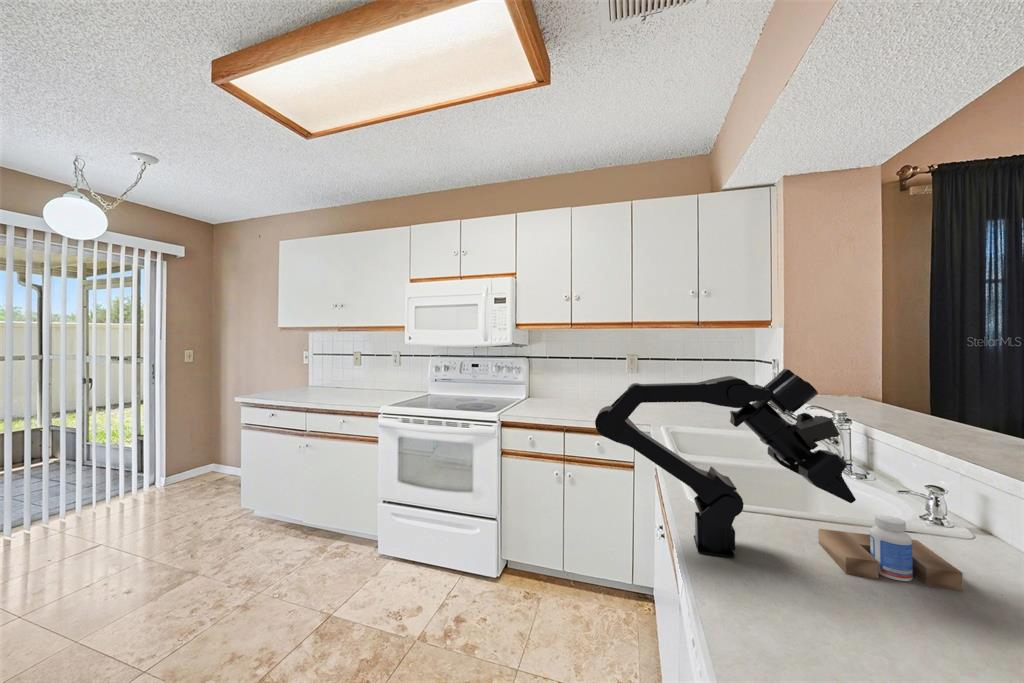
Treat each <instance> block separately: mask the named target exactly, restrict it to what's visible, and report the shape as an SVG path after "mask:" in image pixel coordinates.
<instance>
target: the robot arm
mask: <svg viewBox="0 0 1024 683" xmlns="http://www.w3.org/2000/svg"><path fill="white" fill-rule="evenodd" d="M817 395H819V392H818V391H817V389H816V388H815V387H814V386H813V385H812V384H811V383H810V382H808V381H807V380H804V379H803V378H802V377H800V376H799V375H797V374H796V373H794V372H792V370H790V369H788V368H783V369H782V370H781V371H780V372H778V374H777V375H776V376H775V377H773V379H771V380H770V381H769V382H768V383H766V384H765V385H764V386H762V385H759V384H757V383H756V384H750V383H749V382H747V381H746V380H744V379H741V378H738V377H736V376H732V375H725V376H720V377H716V378H710V379H706V380H703V381H698V382H678V383H677V382H672V383H669V382H668V383H639V382H634V383H631V384H629V386H628V387H627V389H626V390H625V391H624V392H623V393H622V394H620V396H619V397H618V398H617V399H615V401H614V402H613V403H612V404H611V405H607V406H604V407H602V408H601V409H600V410H599V411H598V413H597V416H596V418H595V419H594V422H595V423H594V425H595V429H596V432H598V434H599V435H600V436H602V437H604V438H606V439H609V440H611V441H612V442H615V443H618V444H621V445H624V446H627V447H629V448H632V449H633V450H635V451H636V452H637V453H639V454H641V455H642V456H644V457H645V458H646V459H648V460H649V461H651V462H652V463H654V464H655V465H657V466H658V467H660V468H661V469H663V470H664V471H666V472H667V473H668V474H670V475H671V476H673V477H675V478H676V479H677V480H679V481H680V482H681V483H683V484H685V486H688V487H689V488H691V489H692V491H693V492H694V493H695V494H696V496H695V497H694V498H693V499H694V503H695V506H696V508H697V510H698V511H695V512H694V530H695V532H694V535H693V539H694V544H695V548H696V551H697V553H699V554H705V555H710V556H717V557H724V558H730V559H731V558H732V559H735V553H734V551H736V530H735V528H734V526H733V523H734V521H735V518H736V517H738V516H739V515H740V514H741V513H742V511H743V510H744V502H743V500H744V499H743V498H742V496H741V494H740V493H739V492H738V491H737V486H736V485H735V484H734V482H733V481H732V480H731V479H730V478H729V476H727V475H724V474H722V473H720V472H718V470H716V469H715V467H713V466H710V467H709V470H708V471H707V470H704V469H701V468H698V467H697V466H695V465H694V464H692V463H691V462H690V461H688V460H686V459H684V457H681V456H680V455H679V454H677V453H675V452H674V451H673V450H671V449H669V448H668V447H666V446H665V445H663V444H662V443H660V442H659V441H657V440H655V439H654V438H653V437H652V436H650V435H648V434H647V433H645V432H644V431H642V430H640V428H639V427H637V425H636V424H635V423H634V422H633V421H632V420H631V419H630V418H629V417H630V416H631V415H632V414H633V413H634V412H635V410H636V409H637V407H639V406H640V405H641V404H643V403H645V404H646V403H647V404H648V403H650V404H651V403H703V404H711V405H714V406H720V407H728V408H732V409H733V408H734V409H739V410H736V411H735V410H730V411H729V413H730V419H729V423H730V424H731V425H732V426H734V427H736V428H737V427H740V425H742V423H744V424H745V425H746V426H747V427H748V428H749V429H750V430H751V431H752V432H753V433H754V434H755V435H756V436H757V437H758V438H759V440H760V442H761V443H763V444H764V445H766V446H768V447H767V455H769V457H770V458H772V460H773V461H775V462H777V463H778V464H779V465H781V467H784V468H786V469H787V470H789V471H791V472H794V473H796V474H798V475H800V476H801V477H802V478H804V479H805V480H806V481H807V482H808V483H809V484H811V485H813V486H814V487H815V488H818V489H820V490H822V491H825V492H827V493H828V494H831V495H833V496H835V497H837V498H839V499H841V500H842V501H845V502H847V503H849V504H852V503H854V502H856V500H857V499H856V497H855V495H854V494H853V492H852V491H851V489H850V488H849V485H848V484H847V482H846V481H845V479H844V477H843V472H844V471H845V469H846V467H847V465H848V463H847V462H846V461H845V460H844V459H843V458H842V457H841V456H840V455H839V454H836V453H834V452H831V451H829V450H825V449H818V450H817V451H815V452H813V451H812V450H815V449H816V448H817V447H819V445H818V444H817V443H818V442H821V441H824V440H828V439H830V438H837V437H839V436H840V435H841V433H840V431H839V430H838V428H837V426H836V424H835V423H834V420H833V419H832V418H831V417H827V416H825V415H814V416H812V414H810V413H808V412H802V413H799V414H797V416H796V417H797V418H796V422H795V424H792V423H789V421H787V420H786V419H785V418H783V416H781V415H780V414H779V412H777V411H776V410H775V409H774V408H773V407H775V408H776V409H777V410H778V411H780V412H781V413H783V414H784V413H785V412H788V413H791V414H794V413H795V412H796V411H798V410H799V409H801V408H802V407H803V406H805V405H807V403H808V402H810V401H811V400H812V399H814V398H815V397H817ZM769 403H770V404H771V405H773V407H772V406H771V405H770V404H769Z"/></svg>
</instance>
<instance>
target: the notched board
mask: <svg viewBox="0 0 1024 683" xmlns="http://www.w3.org/2000/svg"><path fill="white" fill-rule="evenodd" d="M817 533H818V539H817V540H818V545H820V546H821V547H822V549H823V550H824V551H825V552H826V553H827V554H828V556H830V558H831V559H832V560H833V561H834V563H836V564H837V566H838V567H839V568H840V569H841V570H842V571H843V573H844V574H846V575H852V576H859V577H866V578H873V579H879V573H878V561H877V560H876V559H875V558H874V557H873V556H872V555H871V549H870V533H869V534H867V533H861V532H860V533H858V532H850V531H841V530H833V529H823V528H818V532H817ZM912 562H913V576H915V578H918V579H919V580H920V581H921V582H922V583H923V584H924V585H925V586H928V587H934V588H942V589H948V590H956V591H961V592H962V591H964V590H963V588H964V587H963V585H964V584H963V582H964V581H963V572H962V571H961V570H959V569H958V568H957V567H955V566H953V565H952V564H951V563H950V562H948V561H946V560H945V559H944V558H943V557H941V556H940V555H939V554H937V553H935V552H934V551H933V550H932V549H930V548H929V547H927V546H925V544H923V543H922V542H921V541H919V540H918V539H912Z"/></svg>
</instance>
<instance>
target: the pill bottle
mask: <svg viewBox="0 0 1024 683" xmlns="http://www.w3.org/2000/svg"><path fill="white" fill-rule="evenodd" d="M906 523H907V522H906V521H905V520H904V519H902V518H900V517H898V516H895V515H889V514H884V513H877V514H875V515H874V524H875V525H873V526H872V527H871V528H870V530H869V535H870V549H871V555H872V556H873V557H874V558H875V559H876V560H877V561H878V575H881V576H883V577H885V578H887V579H891V580H895V581H899V582H910V581H912V580H913V578H914V574H913V562H912V540H913V539H912V537H911V536H910V535H909V534H908V533H907V532H906V530H907V527H906V526H907V524H906Z"/></svg>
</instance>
